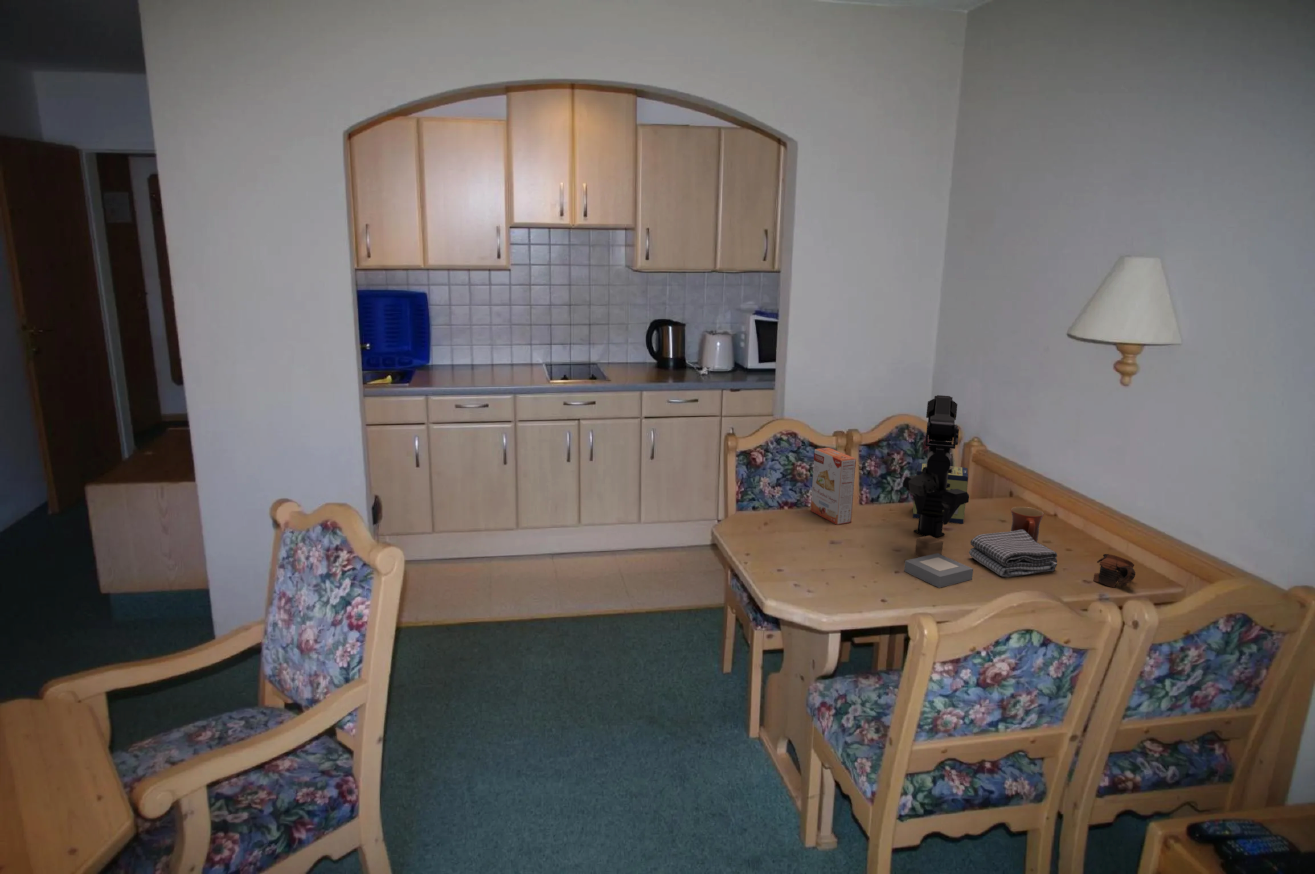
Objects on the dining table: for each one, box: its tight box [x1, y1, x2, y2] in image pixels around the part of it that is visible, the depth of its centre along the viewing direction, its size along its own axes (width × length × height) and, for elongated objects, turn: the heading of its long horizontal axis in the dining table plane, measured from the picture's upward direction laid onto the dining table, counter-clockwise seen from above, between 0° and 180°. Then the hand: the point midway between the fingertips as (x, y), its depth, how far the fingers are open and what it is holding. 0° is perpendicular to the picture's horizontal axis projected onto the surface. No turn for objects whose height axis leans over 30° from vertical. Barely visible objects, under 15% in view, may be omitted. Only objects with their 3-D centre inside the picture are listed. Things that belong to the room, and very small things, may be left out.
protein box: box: [912, 462, 969, 525], centre depth 268 cm, size 10×16×16 cm
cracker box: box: [810, 447, 857, 525], centre depth 264 cm, size 14×6×21 cm, turn 25°
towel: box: [968, 530, 1058, 578], centre depth 230 cm, size 15×18×8 cm
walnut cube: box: [914, 535, 944, 558], centre depth 235 cm, size 5×5×5 cm
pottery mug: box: [1093, 553, 1136, 589], centre depth 220 cm, size 12×10×8 cm
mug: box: [1010, 506, 1045, 543], centre depth 243 cm, size 12×9×10 cm
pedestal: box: [903, 553, 974, 589], centre depth 222 cm, size 12×12×3 cm
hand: (932, 519), depth 233 cm, fingers open, 9 cm apart
